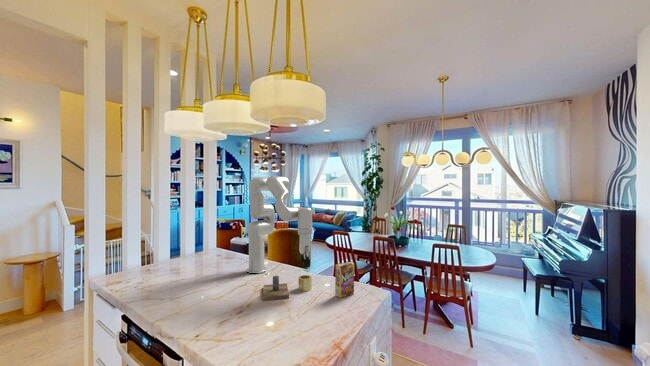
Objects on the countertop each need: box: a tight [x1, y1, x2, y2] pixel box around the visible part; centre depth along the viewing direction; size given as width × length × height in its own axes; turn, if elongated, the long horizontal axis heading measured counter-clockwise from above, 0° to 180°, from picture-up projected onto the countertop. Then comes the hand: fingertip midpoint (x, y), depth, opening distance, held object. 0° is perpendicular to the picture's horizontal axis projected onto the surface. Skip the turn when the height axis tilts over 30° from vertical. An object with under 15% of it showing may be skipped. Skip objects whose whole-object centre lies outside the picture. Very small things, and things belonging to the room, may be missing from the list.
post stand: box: [262, 275, 290, 301], centre depth 130 cm, size 16×12×8 cm
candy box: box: [334, 261, 355, 299], centre depth 127 cm, size 9×4×15 cm, turn 123°
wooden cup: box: [297, 274, 313, 292], centre depth 135 cm, size 7×7×6 cm
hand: (305, 264), depth 135 cm, fingers open, 9 cm apart
